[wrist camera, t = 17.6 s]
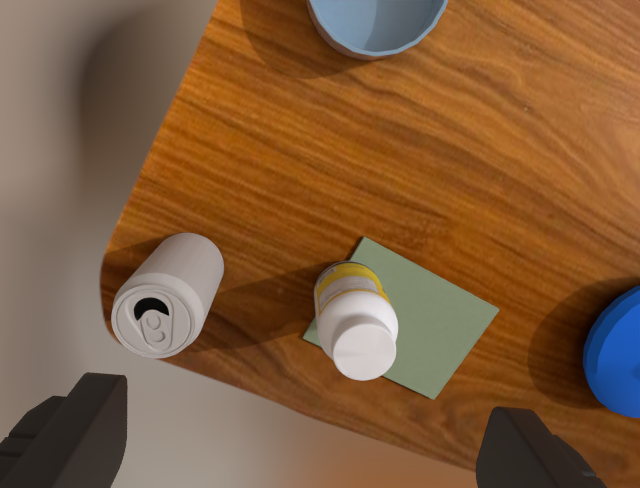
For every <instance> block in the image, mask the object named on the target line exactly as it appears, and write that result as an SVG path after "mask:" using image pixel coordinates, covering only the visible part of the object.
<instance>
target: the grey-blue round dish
mask: <svg viewBox="0 0 640 488" xmlns="http://www.w3.org/2000/svg"><path fill="white" fill-rule="evenodd" d="M447 2H448V0H306V4H307V9H308V12H309V14H310V17H311V20H312V22H313V24H314V26H315V28H316V30H317V31H318V32H319V34H320V35H321V36H322V38H323V39H324V40H325V41H326V42H327V43H328V44H329V45H330V46H331V47H333V48H334V49H335V50H337V51H338V52H340V53H342V54H344V55H346V56H348V57H352V58H355V59H360V60H366V61H369V60H379V59H384V58H389V57H391V56H393V55H395V54H397V53H399V52H401V51H403V50H405V49H407V48H409V47H411V46H413V45H416V44H417V43H418V42H420V41H421V40H422V39H423V38H424V37H425V36H426V35H427V34H428V33H429V32H430V31H431V30H432V29H433V28H434V27H435V25H436V23H437V22H438V20H439V18H440V16H441V15H442V13H443V11H444V9H445V7H446V6H447Z"/></svg>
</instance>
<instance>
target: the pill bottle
mask: <svg viewBox="0 0 640 488" xmlns="http://www.w3.org/2000/svg"><path fill="white" fill-rule="evenodd" d="M314 302H315V312H316V322H317V332H318V338H319V342H320V344H321V347H322V348H323V350H324V351H325V353H326V354H327V355H328V356H329V357H330V358H331V359H333V360H334V363H335V365H336V367H337V368H338V370H339V371H340V372H341V373H342V374H344V375H345V376H347V377H349V378H351V379H355V380H371V379H374V378H377V377H379V376H381V375H383V374H384V373H385V372H386V371H387V370H388V369H389V368H390V367H391V365H392V364H393V362H394V360H395V357H396V344H395V342H396V339H397V335H398V321H397V317H396V314H395V312H394V310H393V308H392V306H391V304H390V301H389V299H388V297H387V295H386V293H385V291H384V289H383V287H382V285H381V283H380V281H379V279H378V277H377V276H376V274H375V273H374V272H373V271H372V270H371V269H370V268H369V267H367V266H366V265H364V264H362V263H359V262H355V261H342V262H338V263H335V264H333V265H331V266H329V267H328V268H327V269H325V270H324V271H323V272H322V273H321V275H320V276H319V278H318V279H317V281H316V284H315V288H314Z"/></svg>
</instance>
